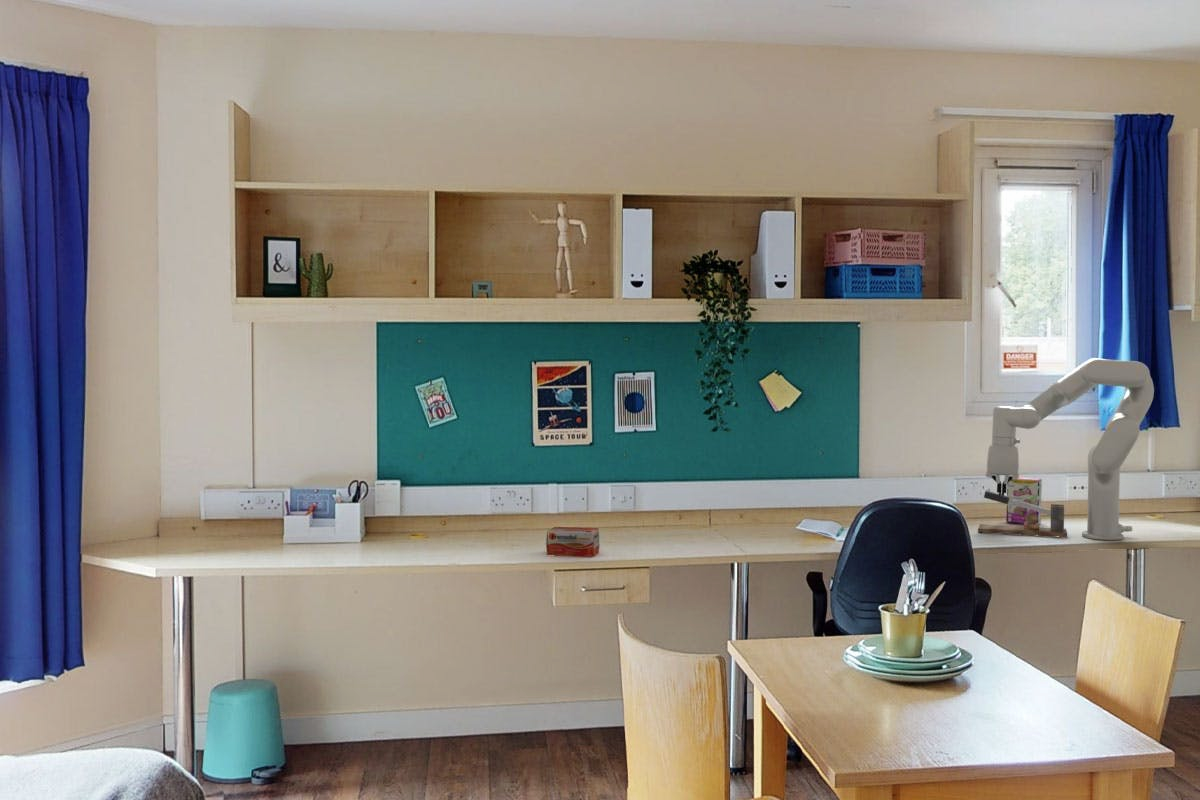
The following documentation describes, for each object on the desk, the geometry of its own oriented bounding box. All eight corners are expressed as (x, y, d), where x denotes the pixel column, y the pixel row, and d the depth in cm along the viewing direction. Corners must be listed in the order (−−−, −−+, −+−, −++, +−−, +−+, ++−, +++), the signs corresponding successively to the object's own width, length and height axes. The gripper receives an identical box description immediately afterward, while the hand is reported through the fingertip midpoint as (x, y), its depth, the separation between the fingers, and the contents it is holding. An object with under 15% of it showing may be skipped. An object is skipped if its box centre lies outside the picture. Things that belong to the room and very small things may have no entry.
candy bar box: (1005, 523, 391) (1006, 478, 390) (1008, 521, 395) (1009, 476, 394) (1038, 525, 385) (1039, 479, 384) (1041, 523, 389) (1042, 478, 388)
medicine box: (546, 556, 332) (546, 530, 332) (552, 551, 340) (552, 526, 340) (594, 558, 329) (594, 532, 328) (599, 553, 337) (599, 527, 336)
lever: (1059, 517, 367) (1061, 511, 367) (1059, 519, 364) (1061, 513, 363) (984, 496, 376) (985, 490, 375) (983, 497, 372) (985, 491, 372)
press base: (1066, 533, 369) (1066, 504, 369) (1067, 537, 360) (1067, 508, 360) (979, 528, 380) (979, 500, 379) (978, 532, 370) (978, 503, 370)
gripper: (1027, 442, 371) (1024, 495, 372) (980, 439, 377) (978, 492, 378) (1027, 444, 364) (1024, 498, 365) (980, 441, 370) (978, 494, 371)
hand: (1001, 494), depth 372 cm, fingers closed
